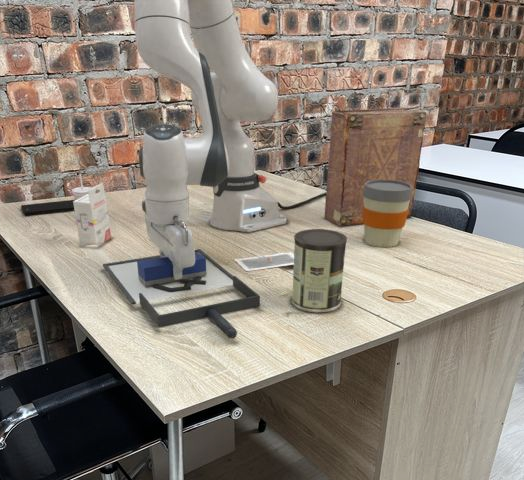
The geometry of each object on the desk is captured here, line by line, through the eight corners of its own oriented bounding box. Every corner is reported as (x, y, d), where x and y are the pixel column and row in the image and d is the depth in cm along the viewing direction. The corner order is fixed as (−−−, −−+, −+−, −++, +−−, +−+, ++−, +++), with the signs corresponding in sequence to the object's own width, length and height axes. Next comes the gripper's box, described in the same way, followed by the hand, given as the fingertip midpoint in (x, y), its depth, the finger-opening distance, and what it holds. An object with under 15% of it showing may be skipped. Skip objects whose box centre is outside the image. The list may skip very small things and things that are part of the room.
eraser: (197, 268, 127) (197, 252, 125) (206, 275, 124) (206, 258, 122) (138, 278, 121) (136, 261, 119) (145, 286, 117) (144, 268, 116)
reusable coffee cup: (413, 241, 151) (422, 185, 143) (388, 252, 143) (397, 193, 135) (374, 231, 158) (380, 177, 151) (348, 241, 150) (354, 184, 142)
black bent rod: (191, 288, 118) (191, 285, 118) (189, 293, 116) (189, 290, 115) (153, 286, 118) (153, 283, 118) (150, 291, 116) (150, 288, 116)
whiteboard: (200, 255, 139) (199, 248, 138) (240, 288, 121) (240, 281, 120) (103, 270, 129) (102, 263, 128) (132, 309, 111) (131, 302, 110)
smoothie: (71, 225, 157) (64, 174, 150) (86, 219, 163) (79, 169, 156) (90, 228, 155) (83, 176, 148) (104, 222, 161) (98, 172, 154)
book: (393, 209, 177) (407, 107, 162) (411, 217, 170) (427, 111, 155) (323, 218, 168) (332, 110, 153) (339, 227, 161) (350, 114, 146)
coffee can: (329, 290, 122) (334, 226, 114) (348, 310, 113) (355, 243, 106) (284, 294, 119) (287, 230, 112) (300, 315, 110) (305, 247, 103)
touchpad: (305, 267, 132) (305, 258, 131) (246, 275, 127) (246, 266, 126) (290, 256, 139) (291, 247, 138) (234, 264, 133) (234, 255, 132)
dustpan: (140, 308, 112) (138, 293, 110) (235, 290, 120) (234, 275, 119) (178, 358, 95) (177, 340, 94) (284, 332, 104) (285, 316, 102)
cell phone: (87, 208, 171) (86, 205, 171) (25, 215, 164) (24, 212, 163) (81, 201, 178) (80, 198, 178) (21, 208, 171) (20, 205, 170)
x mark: (200, 278, 123) (200, 275, 123) (207, 284, 120) (207, 281, 120) (178, 282, 121) (178, 279, 120) (185, 288, 118) (185, 286, 117)
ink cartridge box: (94, 236, 149) (86, 180, 142) (111, 238, 149) (105, 182, 141) (79, 247, 142) (70, 188, 135) (97, 248, 141) (89, 190, 134)
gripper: (201, 222, 108) (204, 288, 115) (166, 197, 124) (170, 256, 131) (170, 226, 106) (175, 293, 113) (138, 200, 121) (144, 260, 128)
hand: (172, 273), depth 122 cm, fingers closed on eraser, 5 cm apart
